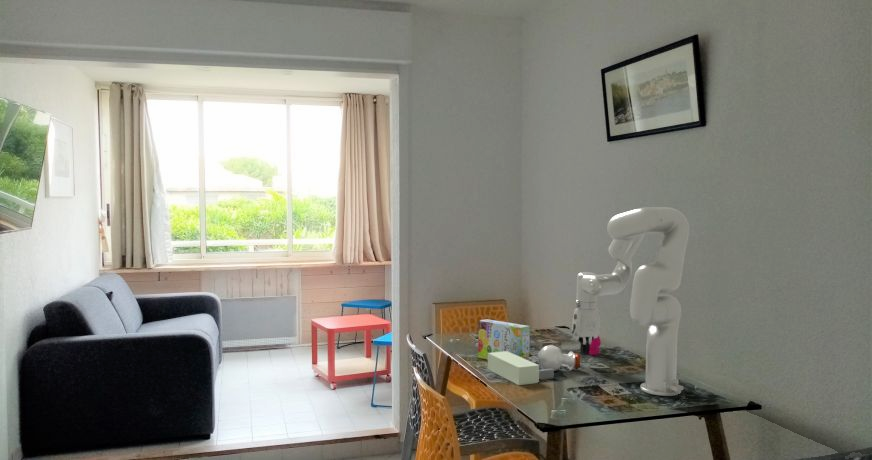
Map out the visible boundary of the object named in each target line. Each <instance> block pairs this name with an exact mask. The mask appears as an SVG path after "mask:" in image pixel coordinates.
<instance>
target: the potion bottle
mask: <svg viewBox="0 0 872 460" xmlns="http://www.w3.org/2000/svg"><path fill="white" fill-rule="evenodd" d="M537 364H538V365H539V367H541V370H542V369H551V368H552V369H554V372H555V371H559V369H560V368H561V367H562V366H563V367H567V368H568V369H569V371H572V369H575V371H577V370H578V369H579V368H580V367H581V366H580V365H581V355H580V354H579V353H577V352H576V353H574V352H573V351H572V350H570V351H569V352H568V353H563V352H562V350H561V349H560V347H558V346H555V345H553V344H549V345H545V346H543V347H542V348H541V349H540V350H539V352H538V353H537Z"/></svg>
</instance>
